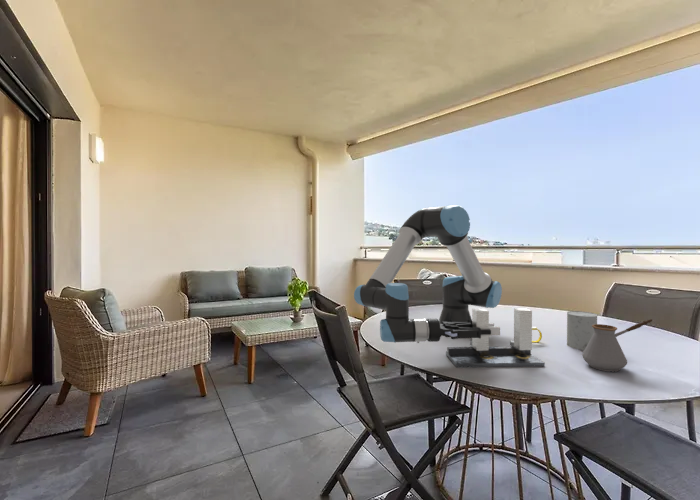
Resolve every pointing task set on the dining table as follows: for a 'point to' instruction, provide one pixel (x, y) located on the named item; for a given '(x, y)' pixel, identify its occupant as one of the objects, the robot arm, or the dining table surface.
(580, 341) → the grey concrete cylinder
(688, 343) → the dining table surface
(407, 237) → the robot arm
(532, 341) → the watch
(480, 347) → the block
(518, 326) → the fixed leg
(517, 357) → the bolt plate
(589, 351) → the coffee pot
